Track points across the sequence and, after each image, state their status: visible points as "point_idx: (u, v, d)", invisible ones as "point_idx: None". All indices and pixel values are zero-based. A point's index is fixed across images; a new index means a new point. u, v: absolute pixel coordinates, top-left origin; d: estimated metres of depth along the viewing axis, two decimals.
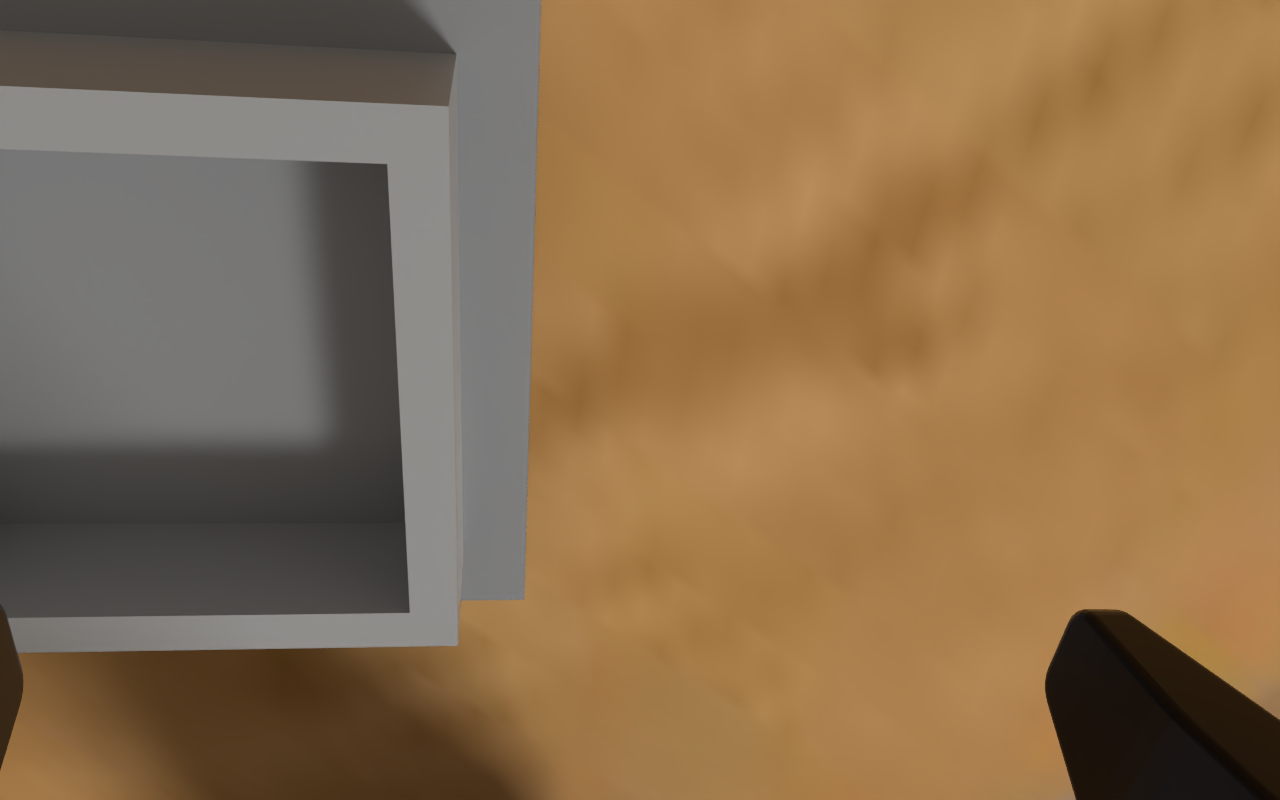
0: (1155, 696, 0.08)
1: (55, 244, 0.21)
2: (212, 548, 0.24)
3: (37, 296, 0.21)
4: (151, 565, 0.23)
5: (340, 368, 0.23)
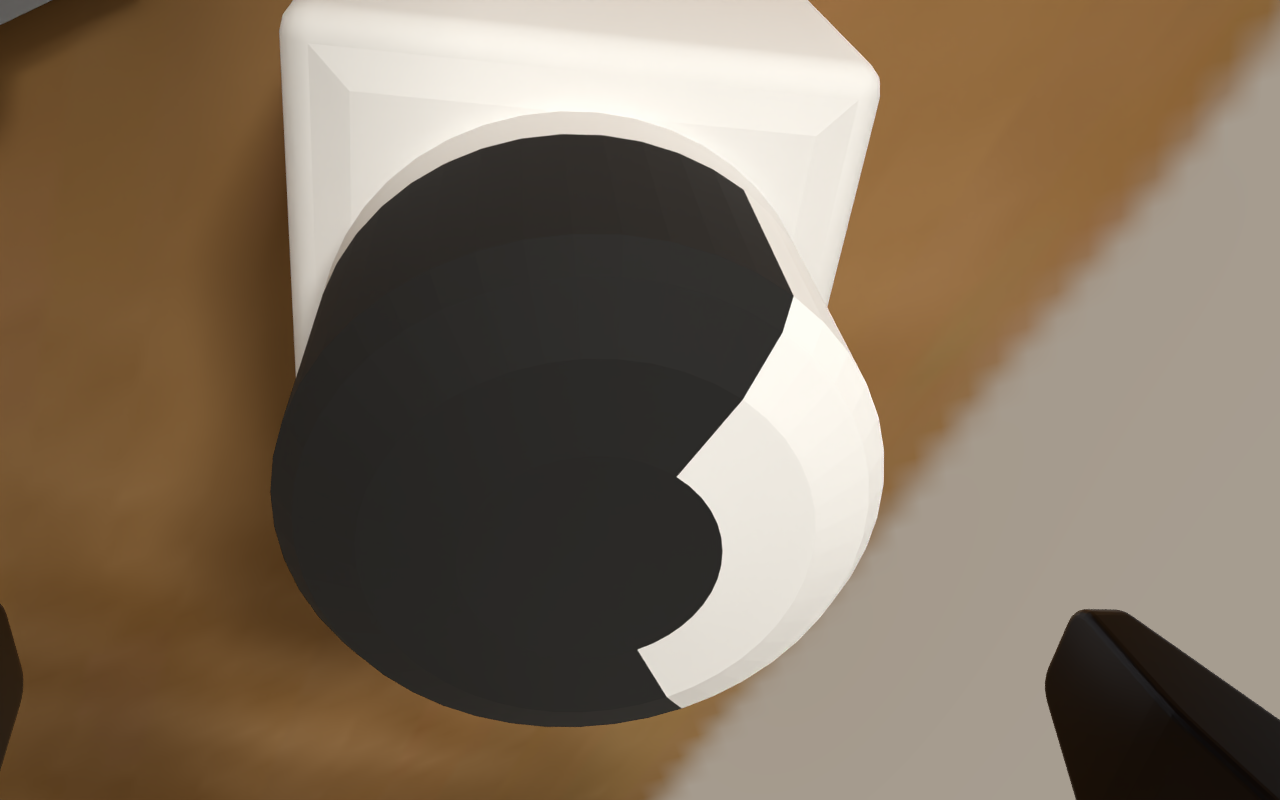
0: (1155, 696, 0.08)
1: None
2: None
3: None
4: None
5: None
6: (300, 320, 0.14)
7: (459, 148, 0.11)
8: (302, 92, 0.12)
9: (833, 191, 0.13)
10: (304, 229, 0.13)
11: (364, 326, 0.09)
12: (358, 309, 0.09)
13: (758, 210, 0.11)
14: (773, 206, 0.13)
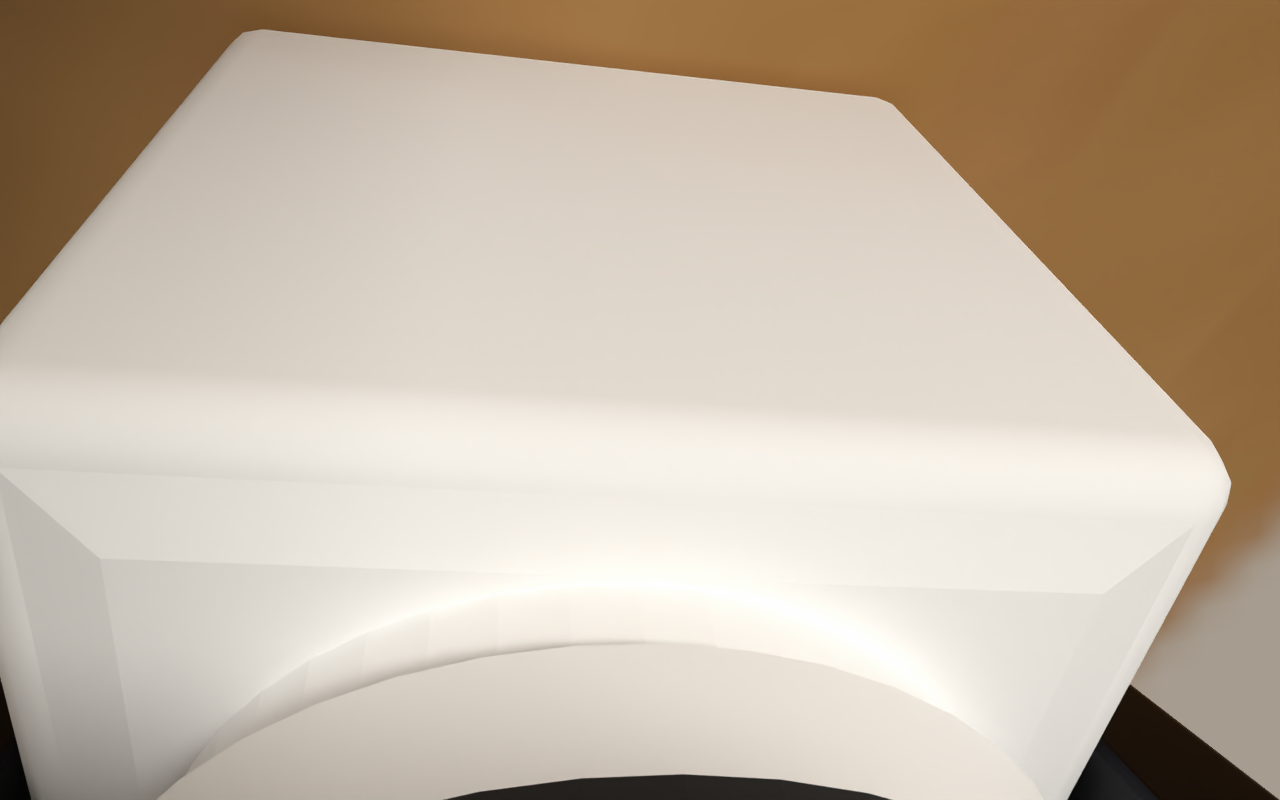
0: None
1: None
2: None
3: None
4: None
5: None
6: None
7: (327, 774, 0.05)
8: None
9: (1113, 669, 0.07)
10: (44, 768, 0.06)
11: None
12: None
13: None
14: (997, 705, 0.07)
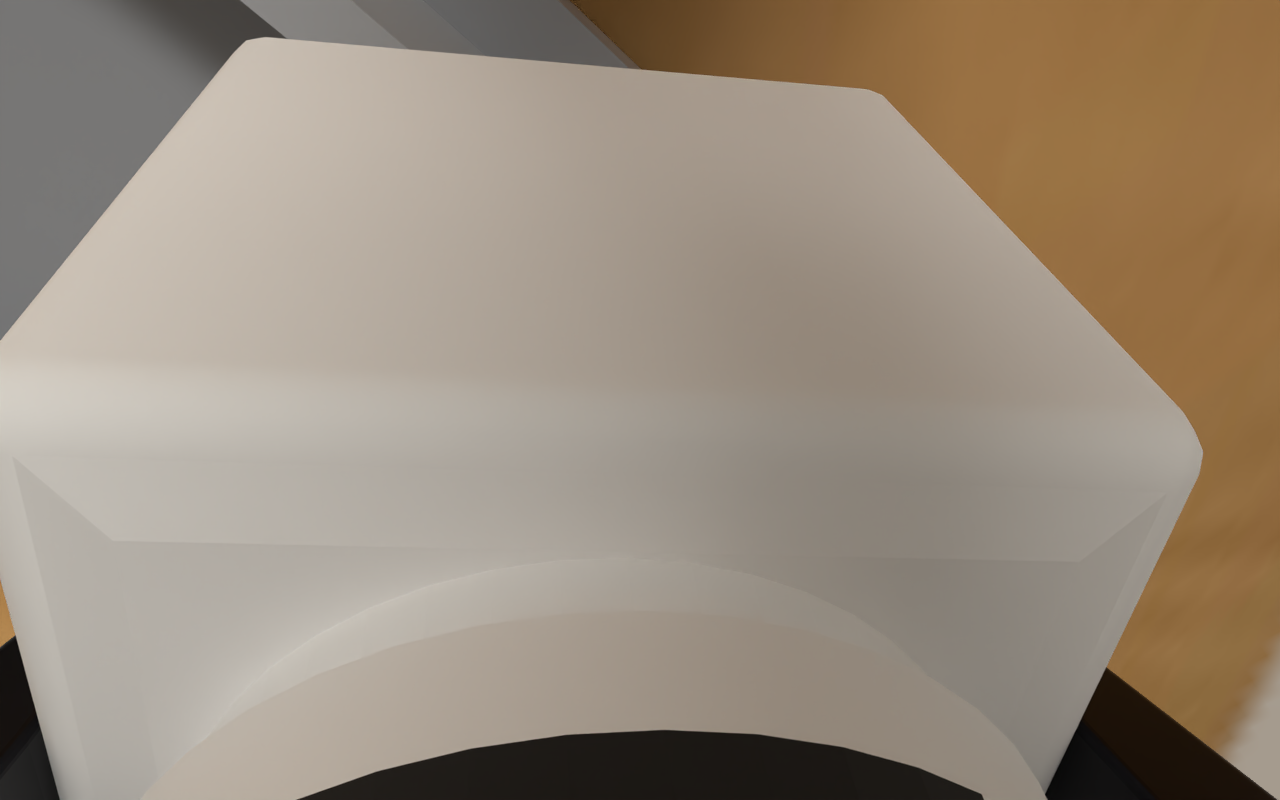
0: None
1: None
2: None
3: None
4: None
5: None
6: None
7: (329, 736, 0.05)
8: (18, 537, 0.06)
9: (1094, 635, 0.07)
10: (65, 747, 0.07)
11: None
12: None
13: None
14: (981, 672, 0.07)
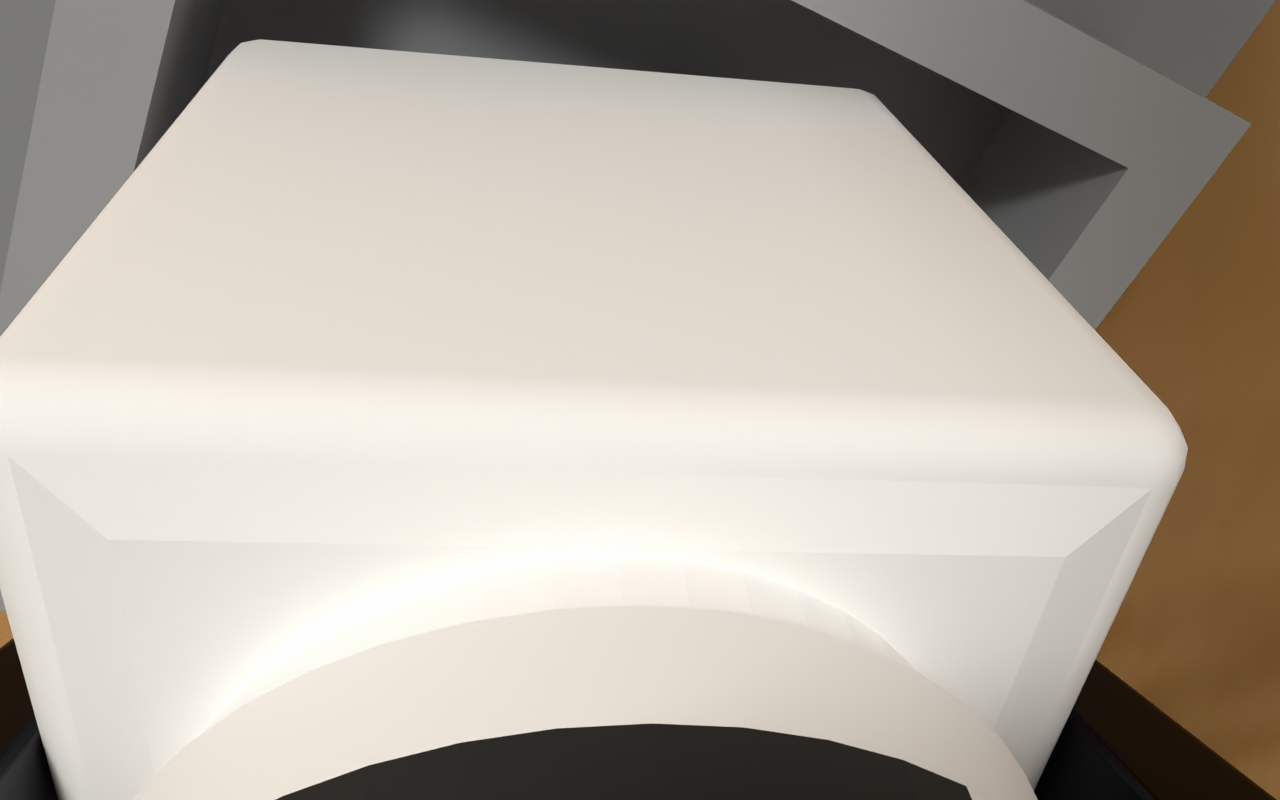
0: None
1: None
2: None
3: None
4: None
5: None
6: None
7: (322, 730, 0.05)
8: (14, 536, 0.06)
9: (1084, 630, 0.07)
10: (62, 744, 0.07)
11: None
12: None
13: None
14: (969, 667, 0.07)
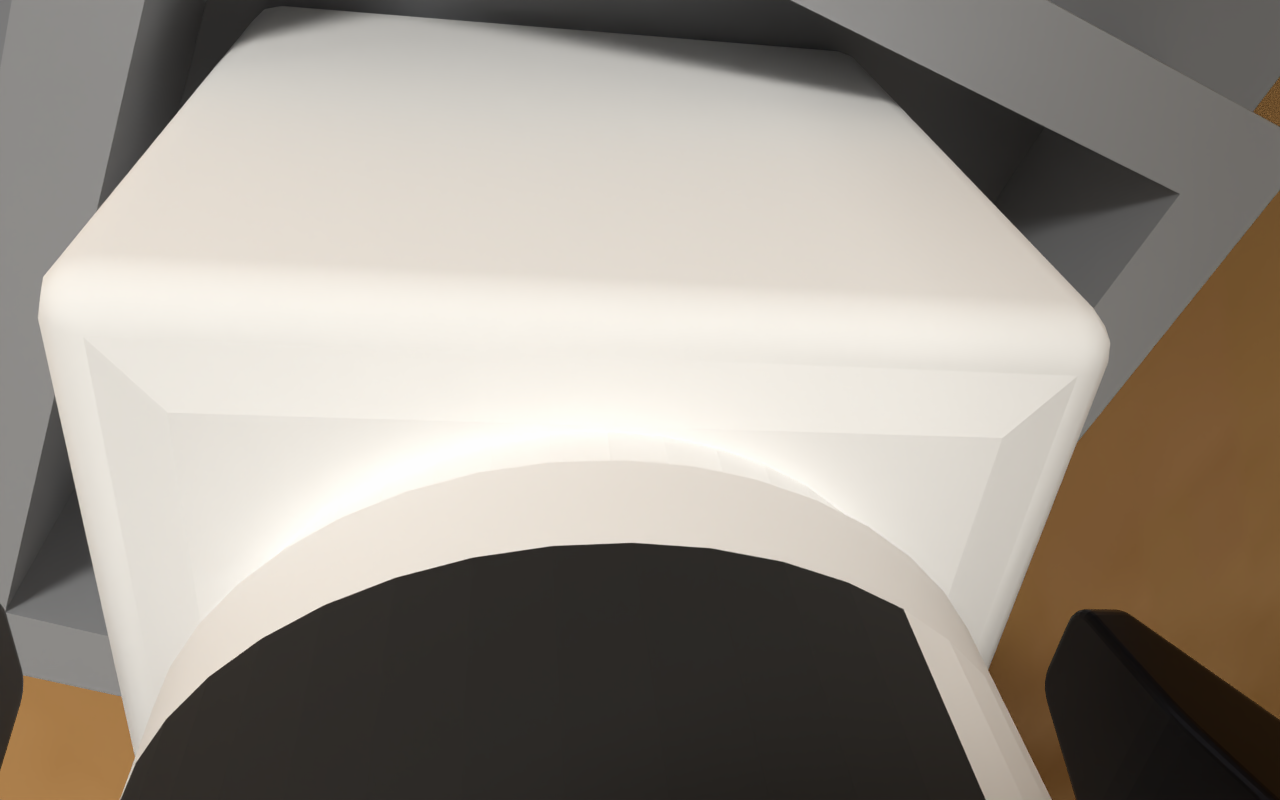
0: (1155, 696, 0.08)
1: None
2: None
3: None
4: None
5: None
6: (136, 726, 0.08)
7: (357, 556, 0.06)
8: (86, 412, 0.07)
9: (1023, 511, 0.08)
10: (121, 609, 0.08)
11: None
12: None
13: (939, 666, 0.06)
14: (921, 542, 0.08)
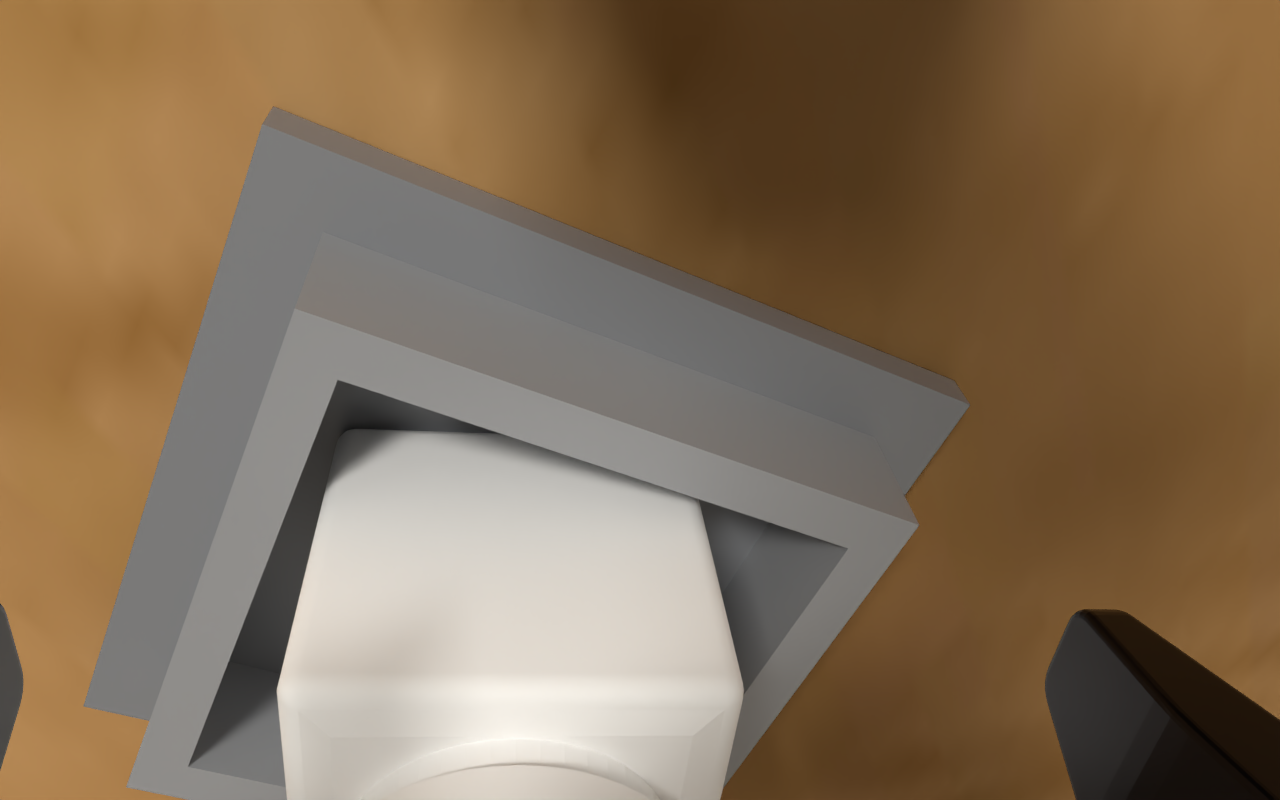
0: (1155, 697, 0.08)
1: None
2: None
3: None
4: None
5: None
6: None
7: None
8: (294, 735, 0.16)
9: (711, 760, 0.17)
10: None
11: None
12: None
13: None
14: (663, 776, 0.17)
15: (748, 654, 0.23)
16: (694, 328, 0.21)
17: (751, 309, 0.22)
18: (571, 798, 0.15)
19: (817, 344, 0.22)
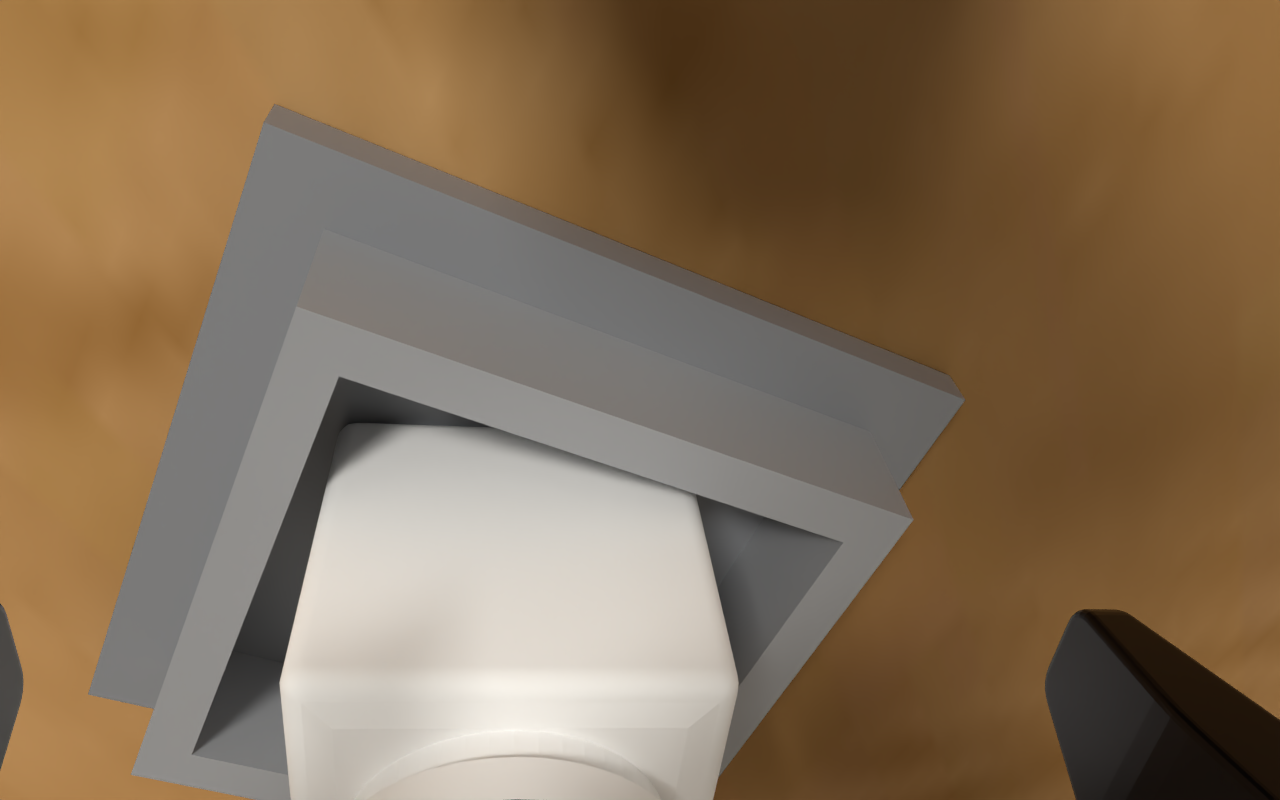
0: (1155, 696, 0.08)
1: None
2: None
3: None
4: None
5: None
6: None
7: None
8: (297, 726, 0.16)
9: (706, 752, 0.18)
10: (301, 797, 0.17)
11: None
12: None
13: None
14: (659, 767, 0.17)
15: (743, 645, 0.23)
16: (692, 324, 0.21)
17: (748, 305, 0.22)
18: (568, 789, 0.16)
19: (813, 340, 0.22)
